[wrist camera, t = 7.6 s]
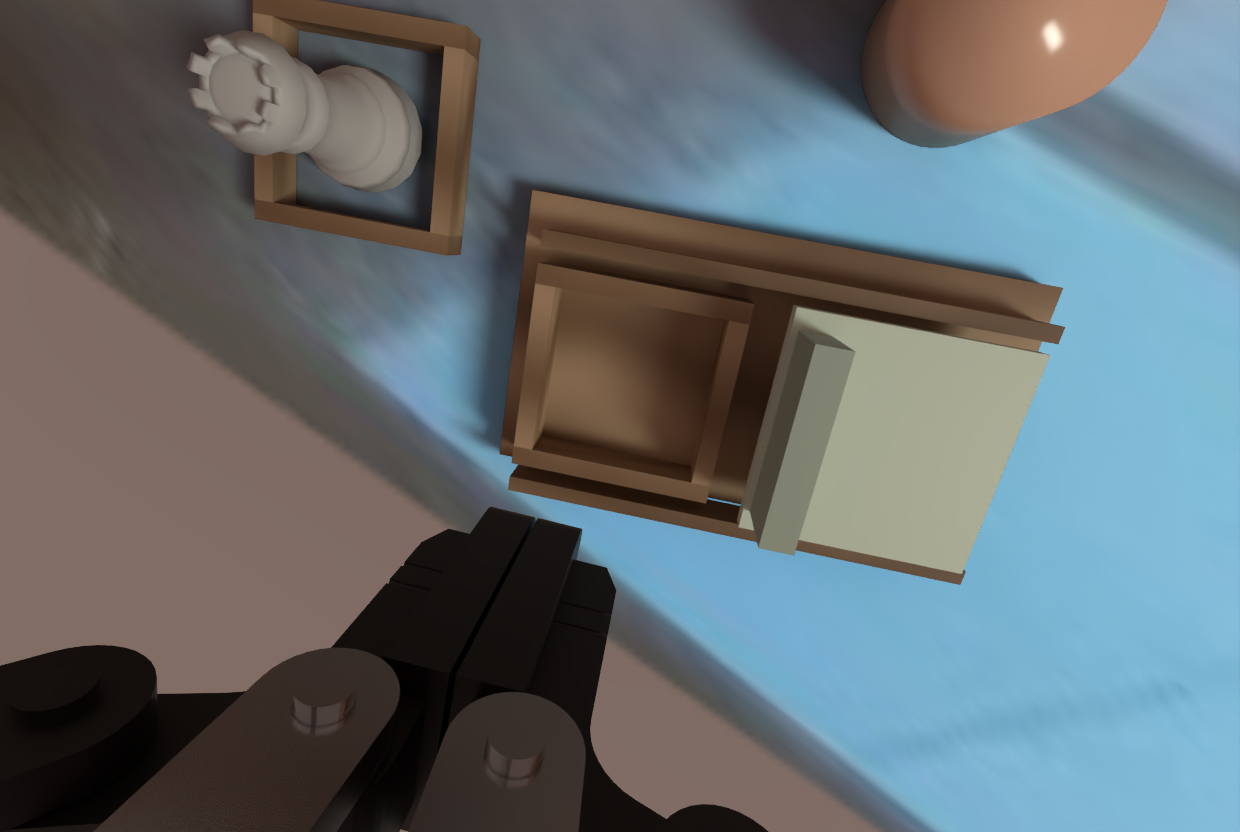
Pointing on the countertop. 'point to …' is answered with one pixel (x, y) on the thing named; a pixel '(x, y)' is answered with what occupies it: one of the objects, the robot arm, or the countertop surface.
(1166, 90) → the countertop surface
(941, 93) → the tan rounded block
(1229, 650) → the countertop surface
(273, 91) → the rook chess piece
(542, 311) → the shallow wooden box
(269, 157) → the wooden square frame
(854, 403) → the cover
